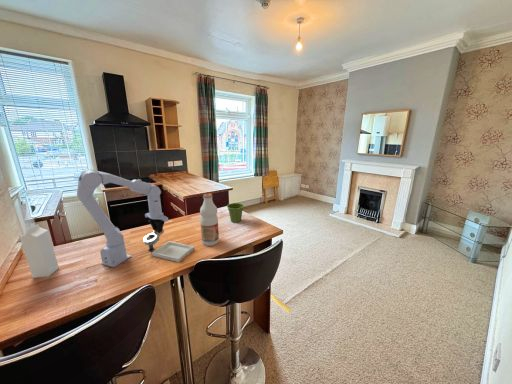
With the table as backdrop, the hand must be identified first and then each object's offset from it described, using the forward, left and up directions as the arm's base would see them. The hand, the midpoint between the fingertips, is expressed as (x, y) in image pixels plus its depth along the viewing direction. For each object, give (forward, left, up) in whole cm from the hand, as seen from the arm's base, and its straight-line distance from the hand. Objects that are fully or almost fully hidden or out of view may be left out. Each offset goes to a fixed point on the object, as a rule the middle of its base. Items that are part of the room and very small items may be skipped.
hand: (158, 231), depth 111 cm
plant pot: (+45, -25, -9) cm, 52 cm away
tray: (-3, -12, -8) cm, 15 cm away
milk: (-35, +29, -9) cm, 46 cm away
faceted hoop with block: (-2, 0, -3) cm, 4 cm away
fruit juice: (+13, -24, -9) cm, 28 cm away
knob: (-5, +1, -8) cm, 10 cm away
